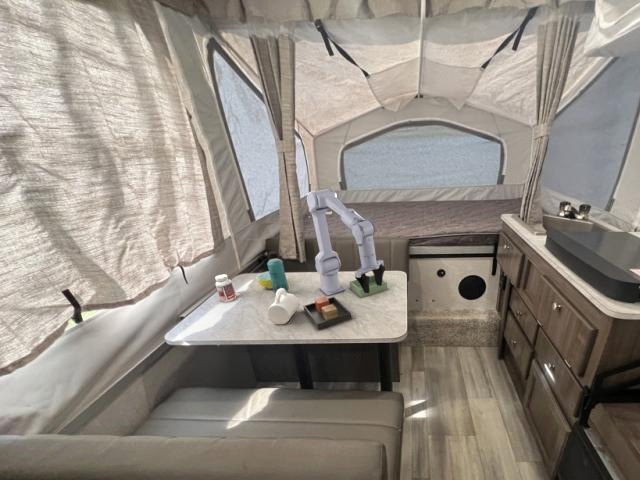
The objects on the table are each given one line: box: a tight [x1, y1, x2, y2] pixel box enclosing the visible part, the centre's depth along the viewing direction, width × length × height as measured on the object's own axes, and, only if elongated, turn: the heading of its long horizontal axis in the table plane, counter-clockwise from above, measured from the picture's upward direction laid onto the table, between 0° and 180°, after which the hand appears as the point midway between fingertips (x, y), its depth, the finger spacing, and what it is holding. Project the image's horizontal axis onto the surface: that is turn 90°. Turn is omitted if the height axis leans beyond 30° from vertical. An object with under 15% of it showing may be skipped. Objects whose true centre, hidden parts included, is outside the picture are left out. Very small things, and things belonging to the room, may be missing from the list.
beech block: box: [322, 304, 338, 320], centre depth 118 cm, size 4×4×4 cm
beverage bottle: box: [266, 251, 290, 295], centre depth 136 cm, size 6×7×20 cm
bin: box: [349, 274, 388, 298], centre depth 141 cm, size 11×13×4 cm
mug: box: [266, 288, 300, 325], centre depth 119 cm, size 8×10×12 cm
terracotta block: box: [314, 296, 330, 313], centre depth 124 cm, size 4×4×4 cm
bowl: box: [255, 270, 274, 290], centre depth 147 cm, size 11×12×6 cm
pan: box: [302, 296, 352, 331], centre depth 122 cm, size 17×13×2 cm
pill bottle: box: [214, 273, 237, 303], centre depth 137 cm, size 6×6×11 cm
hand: (373, 288), depth 119 cm, fingers open, 7 cm apart
